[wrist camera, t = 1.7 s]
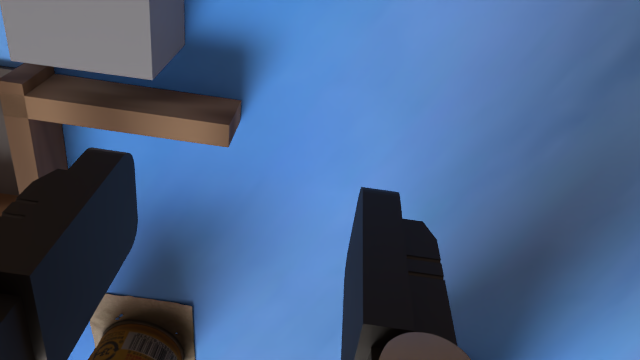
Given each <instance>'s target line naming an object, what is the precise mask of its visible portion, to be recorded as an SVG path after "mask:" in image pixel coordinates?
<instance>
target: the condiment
mask: <svg viewBox="0 0 640 360" xmlns="http://www.w3.org/2000/svg"><path fill="white" fill-rule="evenodd" d="M120 314H123V316H122V317H119V315H120ZM117 317H119V320H115V318H117ZM90 326H91V330H92V334H93V337H94V343H95V349H94V351H93V353H92V354H91V356H90V357H89V359H88V360H195V352H194V340H193V339H194V334H193V318H192V306H188V305H180V304H179V303H172V302H166V301H158V300H154V299H146V298H136V297H132V296H117V295H111V294H105V295H104V297H103V299H102V300H101V302H100V304H99V306H98V307H97V309H96V311H95V312H94V314H93V316H92V318H91V319H90ZM176 332H177V333H178V334H175V333H176Z"/></svg>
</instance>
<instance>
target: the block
mask: <svg viewBox="0 0 640 360" xmlns="http://www.w3.org/2000/svg"><path fill="white" fill-rule="evenodd" d="M0 5H1V10H2V16H3V21H4V26H5V32H6V37H7V42H8V48H9V53H10V58H11V61H16V62H23V63H30V64H37V65H45V66H52V67H59V68H67V69H74V70H81V71H89V72H96V73H103V74H111V75H118V76H125V77H133V78H140V79H147V80H153V79H154V78H155V77H156V76H157V75H158V74H159V73H160V72H161V71H162V69H163V68H164V67H165V66H166V65H167V64H168V63H169V62H170V61H171V60H172V58H173V57H174V56H175V55H176V54H177V53H178V52H179V51H180V50H181V49H182V47H183V46H184V45H185V25H184V0H0Z"/></svg>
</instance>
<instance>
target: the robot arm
mask: <svg viewBox="0 0 640 360" xmlns="http://www.w3.org/2000/svg"><path fill="white" fill-rule="evenodd" d="M137 223H138V216H137V200H136V183H135V167H134V160H133V157H132V155H131V154H130V153H126V152H119V151H112V150H105V149H98V148H88V149H87V150H86V151H85V152H84V153H83V154H82V155H81V156H80V157H79V158H78V159H77V161H76V162H75V163H74V164H73V165H72V166H71V167H70V168H69V169H68V170H63V169H56V170H54V171H52V172H50V173H48V174H46V175H44V176H42V177H40V178H38V179H36V180H35V181H33V182H32V183H31V184H30V185H29V186H28V187H27V188H26V189H25V190H24V191H23V192H22V193H21V194H20V195H19V196H18V197H17V198H16V201H15V202H12V203H11V204H10V205H9V206H8V207H7V208H6V209H5V210H4V211H3V212H2V215H1V216H0V360H67V359H68V357H69V356H70V354H71V352H72V350H73V349H74V347H75V345H76V344H77V342H78V340H79V338H80V337H81V335H82V333H83V331H84V330H85V328H86V326H87V325H88V323H89V321H90V319H91V318H92V316H93V314H94V312H95V311H96V309H97V307H98V306H99V304H100V302H101V300H102V299H103V297H104V295H105V293H106V292H107V290H108V288H109V286H110V285H111V283H112V281H113V280H114V278H115V276H116V274H117V273H118V271H119V269H120V267H121V266H122V264H123V262H124V261H125V259H126V257H127V255H128V254H129V252H130V250H131V248H132V246H133V243H134V240H135V236H136V231H137ZM440 260H441V259H440V254H439V249H438V243H437V240H436V238H435V237H434V236H433V234H432V233H431V232H430V230H429V229H428V228H427V227H426V225H425V224H424V223H423V222H422V221H415V220H408V219H402V211H401V202H400V194H399V192H393V191H386V190H379V189H372V188H365V187H361V190H360V193H359V197H358V202H357V207H356V212H355V217H354V222H353V227H352V232H351V237H350V243H349V248H348V253H347V260H346V267H345V277H344V300H343V325H342V349H341V360H471V359H470V358H469V356H468V355H467V354H466V353H465V352H464V351H463V350H462V349H460V348H459V347H458V346H457V342H456V337H455V331H454V326H453V321H452V316H451V311H450V306H449V300H448V295H447V290H446V285H445V280H443V277H444V275H443V269H442V264H441V263H440Z"/></svg>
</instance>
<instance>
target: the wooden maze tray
mask: <svg viewBox="0 0 640 360" xmlns="http://www.w3.org/2000/svg"><path fill="white" fill-rule="evenodd" d="M240 115H241V100H234V99H227V98H220V97H213V96H207V95H200V94H193V93H186V92H179V91H172V90H165V89H158V88H151V87H144V86H137V85H130V84H123V83H116V82H109V81H102V80H95V79H88V78H81V77H74V76H67V75H60V74H55V72H54V67H52V66H45V65H37V64H30V63H23V64H22V65H20V66H19V67H17V68H12V67H5V66H0V216H1V215H2V212H3V211H4V210H5V209H6V208H7V207H8V206H9V205H10V204H11V203H12V202H15V201H16V198H17V197H18V196H19V195H20V194H21V193H22V192H23V191H24V190H25V189H26V188H27V187H28V186H29V185H30V184H31V183H32V182H33V181H35V180H36V179H38V178H40V177H42V176H44V175H46V174H48V173H50V172H52V171H54V170H56V169H63V170H68V166H67V158H66V151H65V144H64V137H63V130H62V124H68V125H75V126H82V127H89V128H96V129H103V130H110V131H117V132H124V133H131V134H138V135H145V136H152V137H159V138H166V139H173V140H180V141H187V142H194V143H201V144H208V145H215V146H222V147H229V145H230V143H231V141H232V138H233V136H234V134H235V132H236V129H237V127H238V125H239V123H240Z"/></svg>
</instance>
